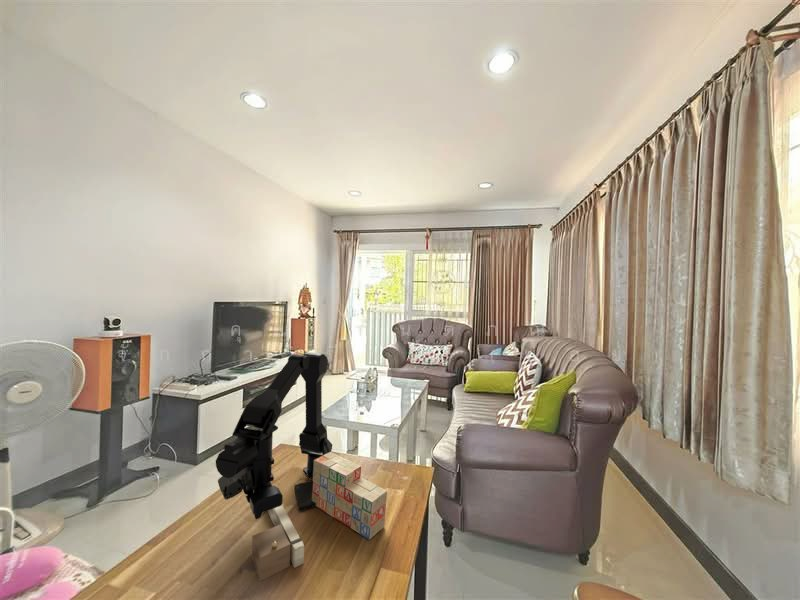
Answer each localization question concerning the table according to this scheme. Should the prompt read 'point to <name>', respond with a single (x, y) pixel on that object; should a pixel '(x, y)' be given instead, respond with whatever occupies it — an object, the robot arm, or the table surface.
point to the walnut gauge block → (270, 552)
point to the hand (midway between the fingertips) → (257, 518)
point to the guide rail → (289, 534)
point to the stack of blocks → (348, 495)
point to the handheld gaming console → (304, 495)
